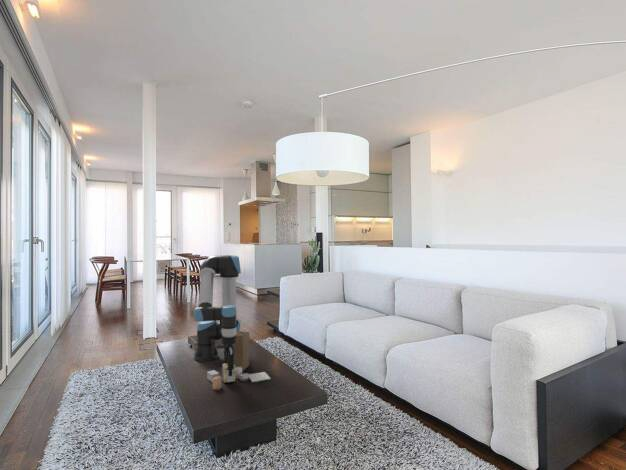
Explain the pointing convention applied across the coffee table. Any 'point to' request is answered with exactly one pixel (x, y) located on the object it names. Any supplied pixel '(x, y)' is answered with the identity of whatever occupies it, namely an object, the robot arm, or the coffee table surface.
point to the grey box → (212, 375)
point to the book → (193, 342)
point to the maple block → (224, 375)
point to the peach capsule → (217, 383)
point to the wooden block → (241, 350)
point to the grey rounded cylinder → (238, 372)
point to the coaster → (258, 377)
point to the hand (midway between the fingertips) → (228, 379)
